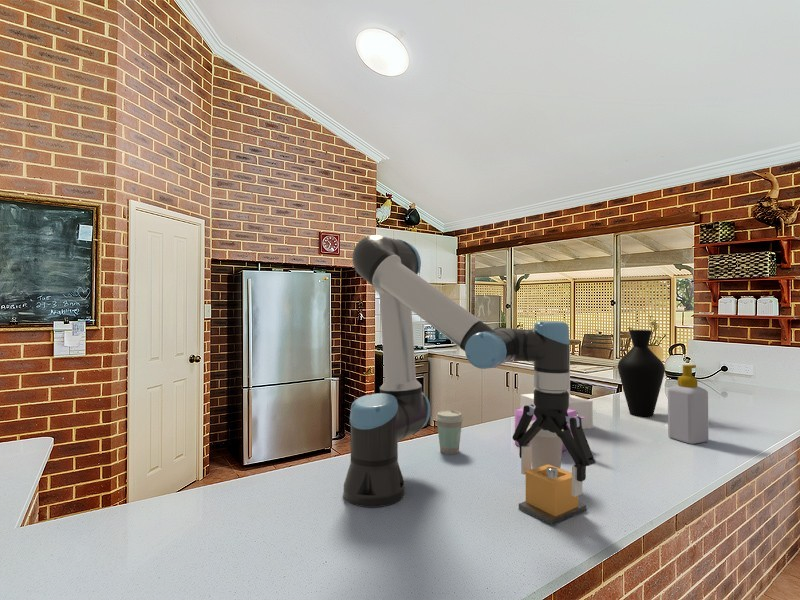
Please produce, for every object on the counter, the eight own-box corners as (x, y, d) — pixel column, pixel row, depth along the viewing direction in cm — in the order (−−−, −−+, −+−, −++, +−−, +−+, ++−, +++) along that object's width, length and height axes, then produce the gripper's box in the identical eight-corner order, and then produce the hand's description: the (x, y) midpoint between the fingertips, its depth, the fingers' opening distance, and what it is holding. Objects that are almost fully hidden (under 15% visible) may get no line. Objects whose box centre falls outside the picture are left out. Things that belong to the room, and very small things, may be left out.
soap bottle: (710, 442, 145) (709, 366, 145) (692, 445, 141) (691, 368, 142) (684, 434, 153) (683, 363, 153) (666, 437, 150) (665, 364, 150)
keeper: (552, 525, 91) (551, 481, 91) (518, 509, 99) (518, 468, 99) (586, 510, 98) (585, 469, 98) (552, 495, 105) (552, 457, 105)
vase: (628, 407, 192) (627, 328, 192) (672, 415, 179) (671, 330, 179) (610, 414, 181) (610, 330, 181) (655, 422, 168) (654, 332, 168)
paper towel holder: (520, 419, 174) (520, 344, 174) (560, 415, 180) (559, 343, 180) (550, 432, 156) (549, 349, 156) (592, 428, 162) (592, 347, 162)
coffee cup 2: (540, 490, 108) (540, 430, 108) (520, 476, 117) (519, 420, 117) (573, 486, 111) (573, 427, 111) (551, 472, 120) (550, 417, 120)
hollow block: (555, 516, 93) (555, 483, 93) (525, 502, 99) (525, 471, 99) (578, 506, 97) (578, 475, 97) (548, 493, 104) (548, 464, 104)
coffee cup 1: (462, 456, 132) (462, 417, 132) (434, 454, 134) (434, 415, 134) (463, 447, 141) (463, 410, 141) (437, 445, 142) (437, 409, 142)
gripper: (613, 398, 90) (612, 500, 90) (519, 379, 111) (518, 462, 111) (592, 402, 86) (591, 510, 86) (498, 382, 107) (497, 468, 107)
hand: (550, 483), depth 98 cm, fingers open, 13 cm apart
